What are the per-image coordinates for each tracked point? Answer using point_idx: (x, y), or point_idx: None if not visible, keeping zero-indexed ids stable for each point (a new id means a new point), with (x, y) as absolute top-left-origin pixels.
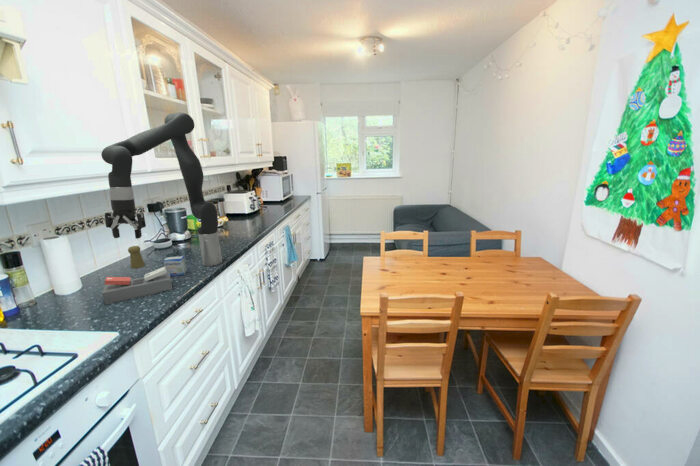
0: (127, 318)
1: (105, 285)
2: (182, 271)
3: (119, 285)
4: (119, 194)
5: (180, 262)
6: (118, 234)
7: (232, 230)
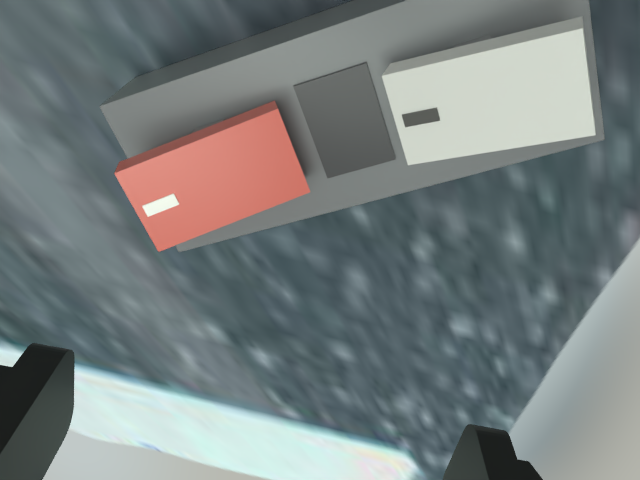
0: (400, 376)
1: (111, 125)
2: None
3: None
4: None
5: None
6: (44, 408)
7: None
